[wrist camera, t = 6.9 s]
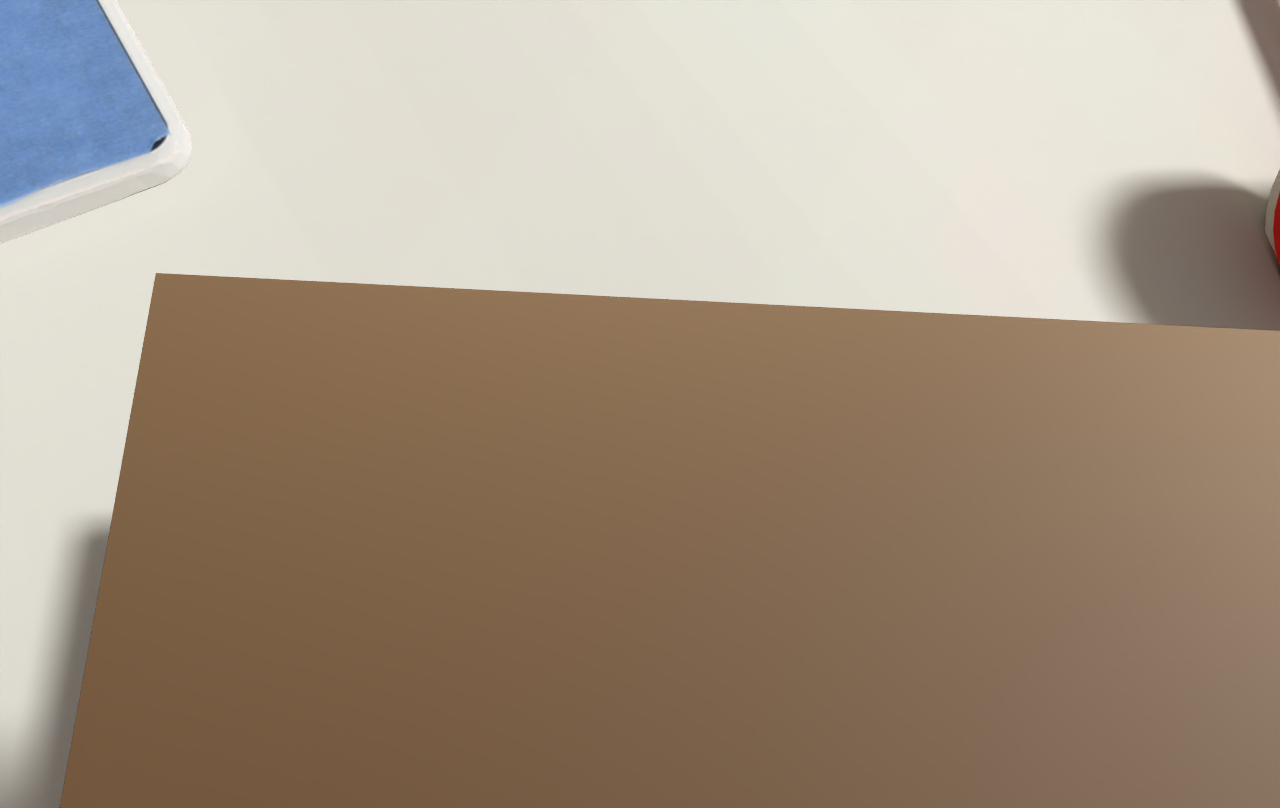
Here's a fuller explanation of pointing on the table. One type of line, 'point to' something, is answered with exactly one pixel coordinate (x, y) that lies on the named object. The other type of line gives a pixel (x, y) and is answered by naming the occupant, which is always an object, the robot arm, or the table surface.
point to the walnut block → (682, 557)
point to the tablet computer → (78, 113)
